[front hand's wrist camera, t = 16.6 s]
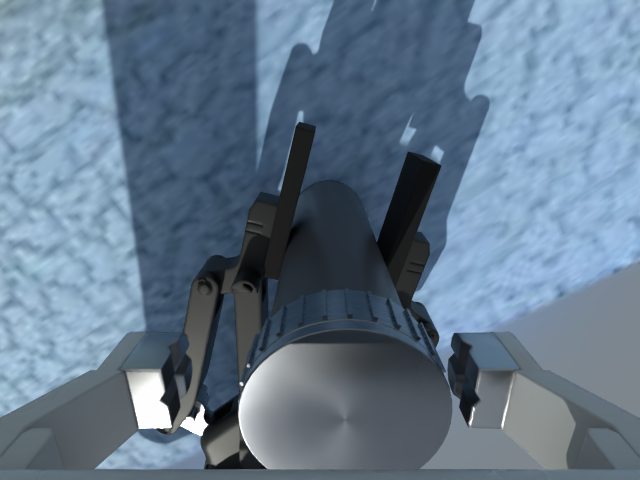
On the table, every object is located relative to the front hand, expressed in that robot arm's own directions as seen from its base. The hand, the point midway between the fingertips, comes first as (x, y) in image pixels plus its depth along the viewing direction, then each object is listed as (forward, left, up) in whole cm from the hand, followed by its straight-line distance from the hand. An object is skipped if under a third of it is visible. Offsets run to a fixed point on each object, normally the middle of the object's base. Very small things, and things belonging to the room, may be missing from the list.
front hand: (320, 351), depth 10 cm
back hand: (-4, -4, -7) cm, 9 cm away
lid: (0, +1, +2) cm, 2 cm away
